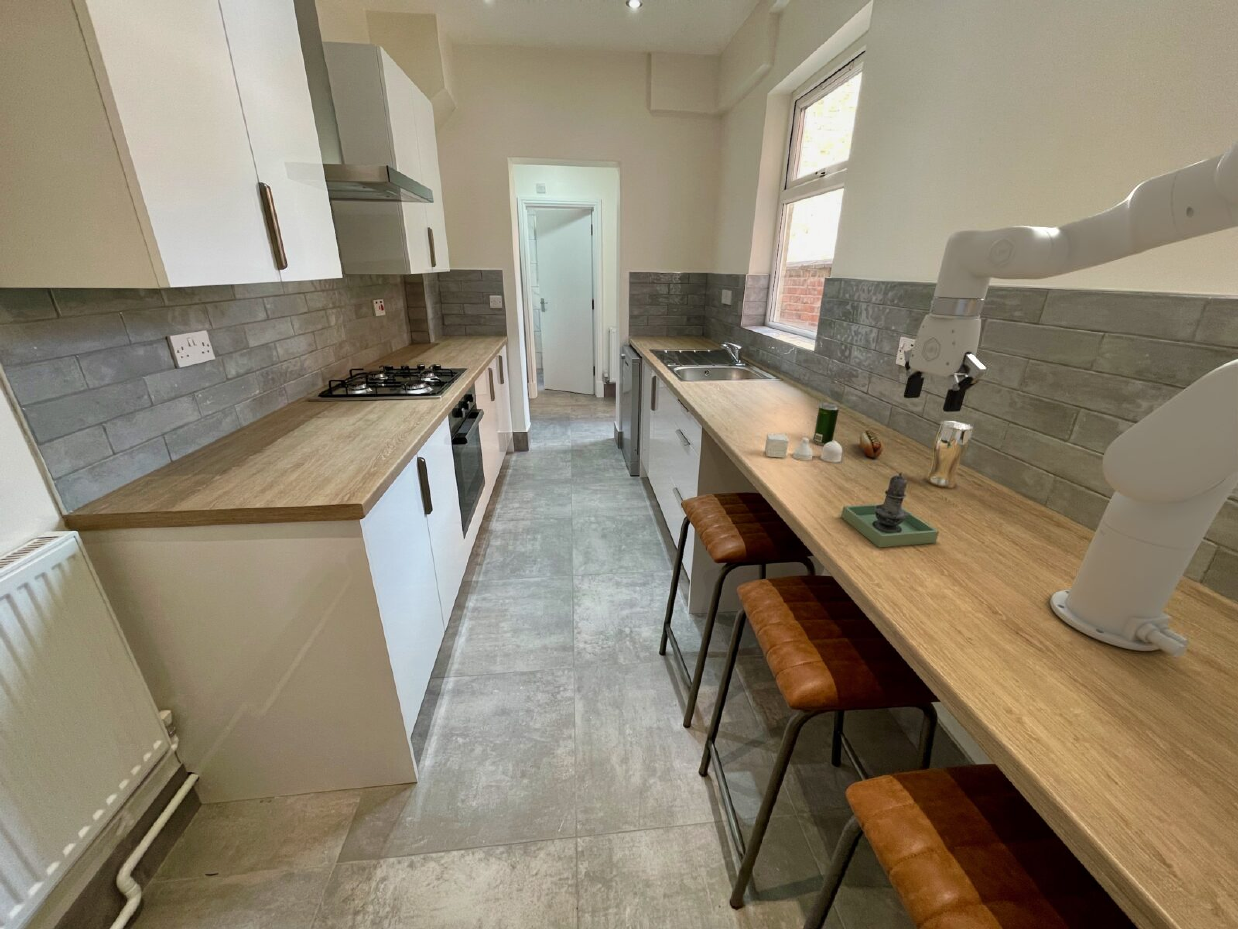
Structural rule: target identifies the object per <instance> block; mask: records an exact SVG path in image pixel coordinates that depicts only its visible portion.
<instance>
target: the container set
mask: <svg viewBox="0 0 1238 929" xmlns="http://www.w3.org/2000/svg"><path fill="white" fill-rule="evenodd" d="M809 441H810V439H809V438H808V437H803V438H802V439H801V443H800V444H799V445H798V446H797V447H796V448H795V449H794V450H793V454H792V457H793V458H794V459H796V460H800V461H811V460H812V459H813V454H814V453H813V452H814V451H813V450H812V448H811V446H810V445H809V444H810V442H809ZM788 446H789V439H788V437H787V435H786V434H782V433H781V434H780V433H767V434H766V438H765V445H764V452H765V455H766V456H767V457H771V458H772V457H773V458H786V457H787V452H788ZM821 451H822V452H821V454H820V460H822V461H823V462H826V463H827V462H828V463H835V464H837V463H841V462H842V454H843V448H842V446H841V444H840V443H838V442H837V440H834V439H833V441H832V442H828V443H826V444H825V445H824V446H823V447H822V450H821Z"/></svg>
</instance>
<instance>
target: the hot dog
mask: <svg viewBox="0 0 1238 929" xmlns="http://www.w3.org/2000/svg"><path fill="white" fill-rule="evenodd" d="M859 444H860V445H859V446H860V449H861V451H862V452H863V453H864V454H865V455H866V456H867V457H870V458H878V457H880V456H881V454H882V452H883V450H884V442H883V441H882V440H881V437H880V436H879V435H878V434H877V433H876V432H873V431H872V430H866V431H863V432H861V433H860V435H859Z"/></svg>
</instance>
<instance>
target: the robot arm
mask: <svg viewBox="0 0 1238 929" xmlns="http://www.w3.org/2000/svg"><path fill="white" fill-rule="evenodd" d="M1237 227H1238V140H1237V141H1236V142H1235V143H1234V144H1232V145H1231V146H1230V147H1229V149H1228V150H1227V151H1226V152H1224V153H1222V154H1218V155H1216V156H1213V157H1210V158H1207V159H1203V160H1202V161H1198V162H1195V163H1193V164H1189V165H1187V166H1184V167H1181V168H1178V169H1175V170H1172V171H1169V172H1166V173H1163V174H1160V175H1158V176H1154V177H1152V178H1149V179H1147V180H1145V181H1143V182H1141V183H1140V184H1138V185H1137V186H1136V187H1134V189H1133V190H1132V191H1131V193H1130V194H1129V195H1128V196H1127V197H1126V198H1125V199H1124V200H1122V201H1121V202H1120V203H1118V204H1116V205H1114V206H1112V207H1110V208H1108V209H1106V210H1103V211H1101V212H1099V213H1096V214H1092V215H1090V216H1086V217H1084V218H1081V219H1079V220H1075V221H1071V222H1068V223H1065V224H1062V225H1059V226H1055V227H1045V226H1043V227H1042V226H1032V225H1031V226H1029V225H1013V226H1008V227H1003V228H998V229H997V228H996V229H992V230H990V229H989V230H988V229H972V230H971V229H969V230H961V231H957V232H956V231H955V232H954V233H952V234H951V235H950V236H949V237H948V239H947V242H946V244H945V248H944V252H943V257H942V261H941V264H940V265H941V266H940V270H939V273H938V277H937V280H936V285H935V289H934V293H933V297H932V300H931V301H930V304H929V306H930V309H929V313H928V314H925V316H924V318H923V320H922V322H921V324H920V327H919V329H918V331H917V334H916V336H915V340H914V342H913V346H912V348H911V349H908V350H906V351H905V352H904V354H903V355H904V362H905V363H904V368H905V370H906V373H905V377H906V378H907V380H906V384H905V388H904V392H903V398H905V399H918V398H920V397H921V393H922V389H923V385H924V381H925V377H923V376H924V375H925V374H928V375H931V376H937V377H941V378H947V377H948V378H947V379H948V381H949V383H950V386H951V388H948V390H947V392H946V396H945V400H944V403H943V407H942V411H943V412H946V413H953V412H955V413H956V412H960V411H961V409H962V408H963V407H962V405H963V403H964V400H965V396H966V393H967V391H970V390H971V389H972V387H973V386H974V385H977V384H978V382H979V380H980V379H981V378H982V376H984V374H985V373H986V372H987V367H986V366H984V364H982V363H981V362H980V361H979V359H977V358H976V356H977V352H978V348H979V342H980V335H981V326H982V319H981V314H982V311H983V306H984V304H985V299H986V296H987V293H988V289H989V286H990V283H991V279H992V278H993V279H999V280H1042V279H1043V280H1044V279H1048V278H1053V277H1058V276H1061V275H1066V274H1070V273H1073V272H1078V271H1082V270H1086V269H1089V268H1093V267H1097V266H1101V265H1104V264H1105V265H1106V264H1108V263H1111V262H1114V261H1118V260H1121V259H1125V258H1127V257H1131V256H1134V255H1138V254H1142V253H1144V252H1147V251H1150V250H1153V249H1156V248H1161V247H1163V246H1166V245H1170V244H1176V243H1179V242H1183V241H1186V240H1191V239H1193V238H1197V237H1202V236H1206V235H1210V234H1213V233H1217V232H1221V231H1225V230H1229V229H1233V228H1237ZM1101 470H1102V474H1103V477H1104V479H1105V480H1106V482H1107V483H1108V485H1109V486H1110V487H1111V488H1112V489H1113V490H1114V493H1113V494H1112V496H1111V498H1110V500H1109V502H1108V504H1107V506H1106V508H1105V510H1104V512H1103V515H1102V517H1101V518H1100V521H1099V524H1098V526H1097V529H1096V531H1095V533H1094V534H1093V537H1092V539H1091V542H1090V544H1089V546H1088V548H1087V550H1086V553H1085V555H1084V557H1083V560H1082V562H1081V564H1080V566H1079V569H1078V570H1077V573H1076V576H1075V578H1074V579H1073V582H1072V584H1071V586H1070V589H1064V590H1063V589H1062V590H1059V591H1056V592H1054V593H1053V594H1052V595H1051V597H1050V600H1049V605H1050V607H1051V610H1052V611H1053V612H1054V613H1055V615H1057V616H1058V618H1059V619H1061V620H1062V621H1063V622H1064V623H1066V624H1067V625H1069V626H1070V627H1072V628H1074V629H1075V630H1077V631H1078V632H1080V633H1083V634H1084V635H1087V636H1088V637H1091V638H1093V639H1095V640H1097V641H1100V642H1103V643H1106V644H1109V645H1112V646H1115V647H1118V648H1122V649H1127V650H1133V651H1138V652H1139V651H1140V652H1152V651H1158V650H1162V651H1163V652H1164V653H1166V654H1168V655H1169V656H1171V657H1173V658H1175V659H1178V658H1181V657H1182V656H1184V655H1185V654H1186V653H1187V650H1188V647H1187V646H1188V645H1189V642H1190V640H1189V639H1188V638H1186V637H1185V636H1182V635H1180V634H1179V633H1176V632H1175V631H1173V630H1171V629H1170V627H1169V626H1168V625H1169V623H1170V621H1171V620H1172V616H1170V615H1168V614H1167V613H1165V612H1164V611H1165V609H1166V607H1167V605H1168V604H1169V601H1170V599H1171V597H1172V596H1173V594H1174V593H1175V590H1176V588H1177V587H1178V585H1179V583H1180V581H1181V579H1182V577H1183V575H1184V574H1185V572H1186V570H1187V568H1188V566H1189V565H1190V563H1191V561H1192V559H1193V557H1194V556H1195V553H1196V552H1197V549H1198V548H1199V547H1200V546H1201V543H1202V541H1203V539H1204V537H1205V536H1206V534H1207V532H1208V530H1209V529H1210V527H1211V525H1212V523H1213V522H1214V520H1215V518H1216V516H1217V515H1218V513H1219V512H1220V511H1221V509H1222V507H1223V505H1224V504H1225V503H1226V501H1227V500H1228V498H1229V497H1230V495H1231V494H1232V492H1233V491H1234V489H1235V488H1236V486H1237V485H1238V358H1237V359H1234V360H1231V361H1229V362H1226V363H1224V364H1222V365H1220V366H1218V367H1217V368H1215V369H1213V370H1211V371H1209V372H1208V373H1206V374H1204V375H1203V376H1201V377H1200V378H1198V379H1197V380H1195V381H1194V382H1193V383H1191V384H1190V385H1188V386H1187V387H1186V388H1184V389H1182V390H1181V391H1180V392H1179V393H1177V394H1176V395H1174V396H1173V397H1172V398H1170V399H1169V400H1167V401H1166V402H1165V403H1163V404H1162V405H1161V406H1159V407H1158V408H1156V409H1155V410H1153V411H1152V412H1150V413H1148V415H1146V416H1145V417H1144V418H1142V419H1140V420H1139V421H1138V422H1136V423H1135V424H1134V425H1132V426H1131V427H1129V428H1128V429H1127V430H1125V431H1123V433H1121V434H1120V435H1118V437H1116V438H1115V439H1114V440H1113V441H1112V442H1111V443H1110V444H1109V446H1107V448H1106V450H1105V451H1104V454H1103V456H1102V462H1101Z"/></svg>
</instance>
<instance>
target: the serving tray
mask: <svg viewBox="0 0 1238 929" xmlns="http://www.w3.org/2000/svg"><path fill="white" fill-rule="evenodd" d="M882 504H883V503H877V504H876V503H874V504H873V503H872V504H859V505H844V506H842V511H841V516H840V517H841V518H842V519H843V520H844V521H845V522H847V523H848V524H849V525H851V526H852V527H853V528H854V529H856V530H857V531H858V532H859V533H860V534H861V535H863V537H865V538H867V539H868V540H869V541H870V542H872V543H873V544H874V545H875V546H876V547H878V548H887V547H900V546H911V545H922V544H923V545H924V544H935V543H937V540H938V538H939V537H938V536H939V533H940V531H939V530H937V529H936V528H934V527H933V526H931V525H930V524H928V523H927V522H925V521H924V520H922V519H921V518H919V517H918V516H916V515H914V514H913V513H912V512H910V511H908V510H907V509H906V508H904V507H902V509H903V510H904V511H906V512H907V514H908V516H907V517H906V518H905V519H904V521H903V522H902V523H901V524H899V526H900V527H901V529H902V531H901V532H900V533H892V534H891V533H886V532H882V531H880V530H878V529H876V528H875V527H874V526H873V525H872V523H873V522H874V521H876V520H878V519H877V518H876V514H875V512H876V511H875V509H874V508H875V506H877V505H882Z"/></svg>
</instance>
